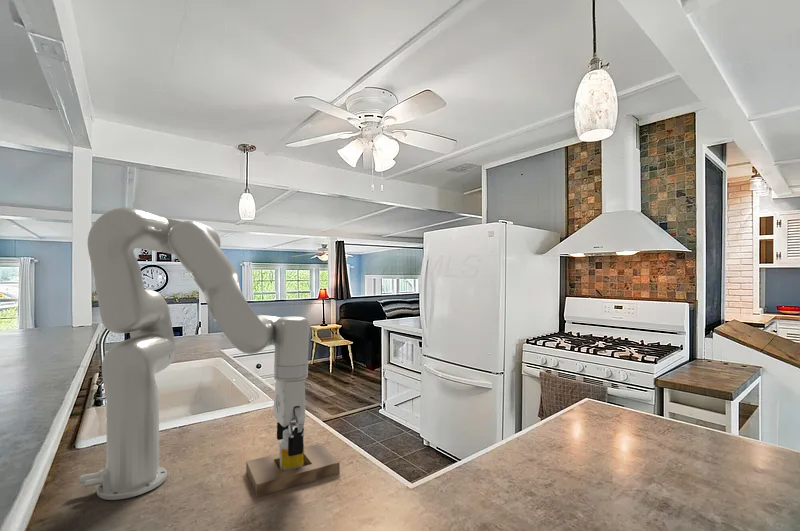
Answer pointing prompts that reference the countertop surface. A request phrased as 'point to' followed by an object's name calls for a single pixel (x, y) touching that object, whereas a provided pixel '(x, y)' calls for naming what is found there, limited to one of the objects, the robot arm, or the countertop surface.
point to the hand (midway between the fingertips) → (289, 446)
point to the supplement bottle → (285, 459)
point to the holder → (272, 479)
